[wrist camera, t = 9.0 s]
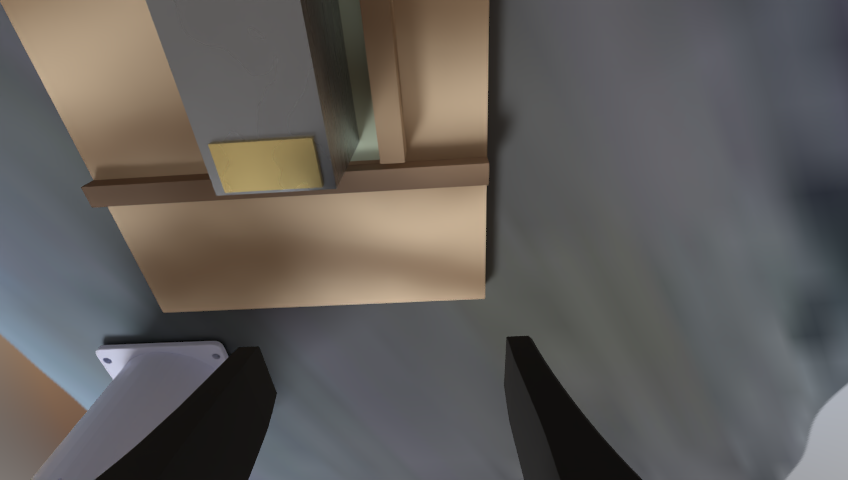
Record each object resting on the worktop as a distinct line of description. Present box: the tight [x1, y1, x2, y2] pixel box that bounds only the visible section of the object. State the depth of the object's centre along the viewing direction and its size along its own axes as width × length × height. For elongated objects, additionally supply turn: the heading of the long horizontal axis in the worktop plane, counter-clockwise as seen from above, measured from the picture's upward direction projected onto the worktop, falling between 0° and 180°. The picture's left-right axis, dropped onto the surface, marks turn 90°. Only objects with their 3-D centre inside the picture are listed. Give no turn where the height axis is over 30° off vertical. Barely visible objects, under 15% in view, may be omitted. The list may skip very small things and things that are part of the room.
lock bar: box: [146, 0, 360, 196], centre depth 13 cm, size 8×4×5 cm, turn 4°
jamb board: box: [0, 0, 489, 313], centre depth 17 cm, size 18×18×2 cm
